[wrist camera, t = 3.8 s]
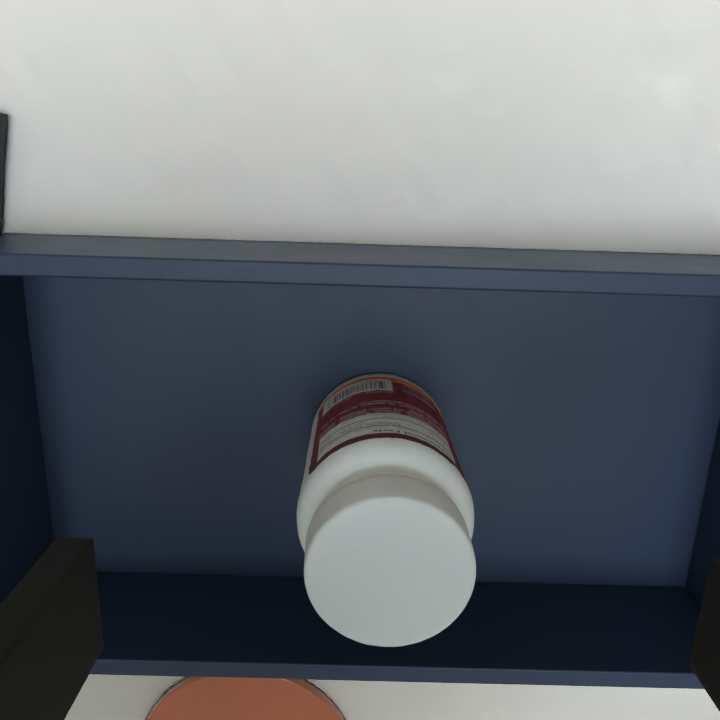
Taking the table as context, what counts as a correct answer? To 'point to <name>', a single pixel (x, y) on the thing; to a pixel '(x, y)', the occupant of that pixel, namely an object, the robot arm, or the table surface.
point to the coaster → (244, 700)
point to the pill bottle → (385, 514)
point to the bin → (293, 429)
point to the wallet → (2, 156)
